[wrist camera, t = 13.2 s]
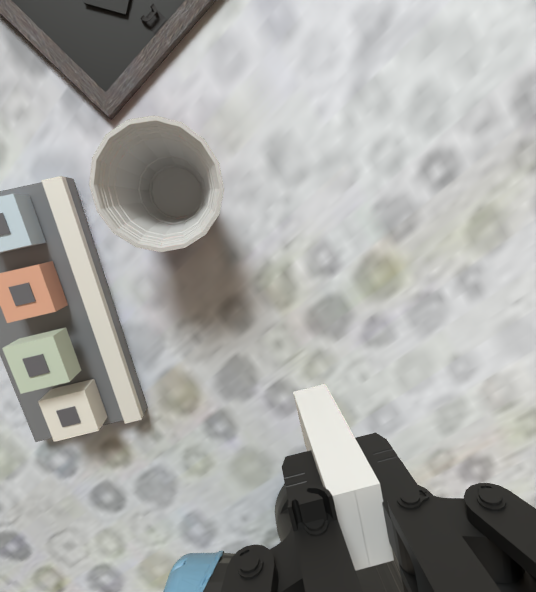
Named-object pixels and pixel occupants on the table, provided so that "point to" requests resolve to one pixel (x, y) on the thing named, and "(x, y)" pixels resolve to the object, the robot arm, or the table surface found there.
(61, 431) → the key ivory
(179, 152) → the plastic cup
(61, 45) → the picture frame
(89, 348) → the keypad base
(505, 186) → the table surface
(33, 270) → the key terracotta
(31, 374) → the key sage
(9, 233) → the key blue
